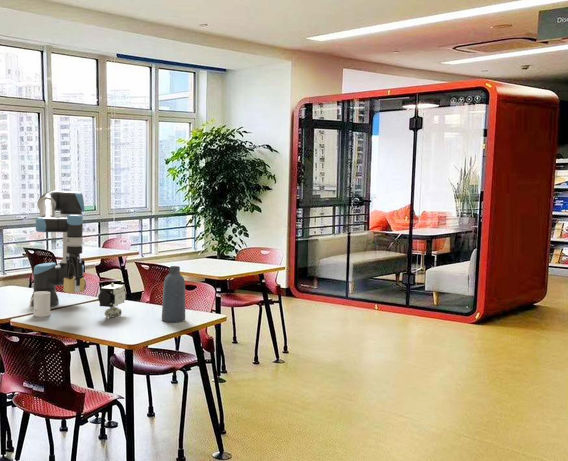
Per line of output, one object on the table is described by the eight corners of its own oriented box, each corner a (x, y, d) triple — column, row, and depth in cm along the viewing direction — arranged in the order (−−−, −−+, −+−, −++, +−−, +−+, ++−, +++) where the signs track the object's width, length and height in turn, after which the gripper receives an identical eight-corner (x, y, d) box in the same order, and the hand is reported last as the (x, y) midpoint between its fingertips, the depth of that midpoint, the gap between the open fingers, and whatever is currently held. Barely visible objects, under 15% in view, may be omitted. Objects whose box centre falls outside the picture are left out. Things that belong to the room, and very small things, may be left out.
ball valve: (112, 320, 317) (113, 286, 315) (97, 319, 318) (97, 285, 317) (128, 313, 334) (128, 281, 333) (113, 312, 336) (114, 280, 335)
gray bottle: (159, 318, 326) (161, 265, 324) (182, 317, 331) (183, 265, 328) (163, 323, 315) (165, 268, 313) (187, 322, 319) (188, 268, 317)
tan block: (63, 291, 311) (63, 277, 311) (81, 289, 318) (81, 276, 318) (69, 293, 307) (69, 279, 307) (87, 291, 314) (87, 277, 313)
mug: (34, 318, 315) (34, 295, 314) (24, 316, 319) (24, 293, 318) (54, 315, 324) (54, 292, 324) (43, 312, 329) (44, 290, 328)
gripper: (59, 244, 315) (58, 289, 316) (76, 247, 301) (75, 294, 303) (73, 243, 320) (72, 287, 321) (90, 247, 306) (89, 293, 308)
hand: (74, 291), depth 312 cm, fingers closed on tan block, 6 cm apart
